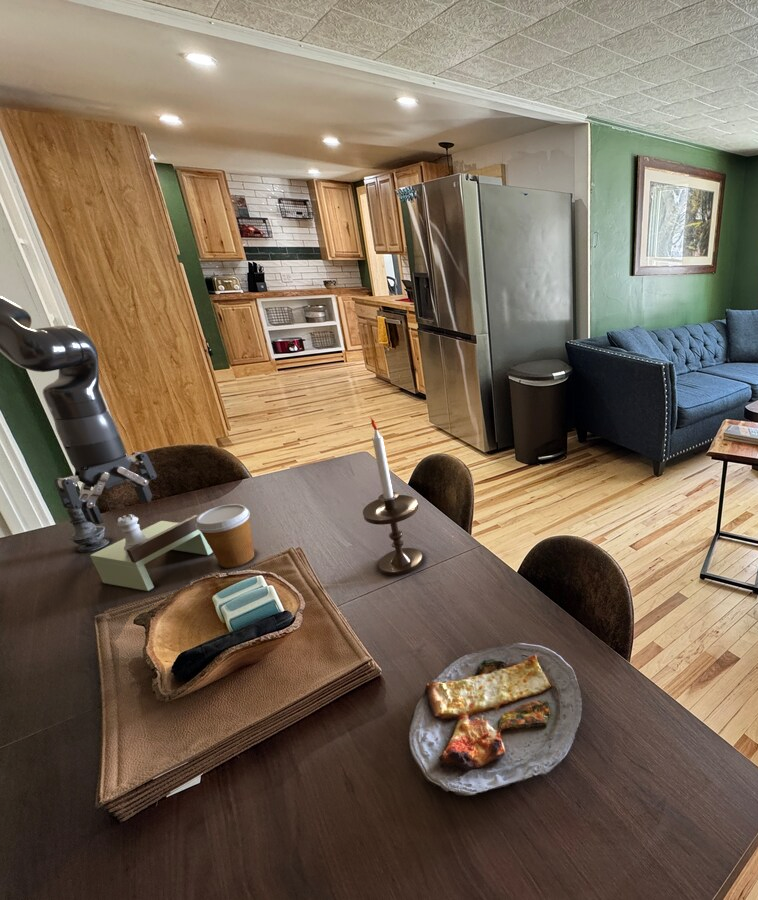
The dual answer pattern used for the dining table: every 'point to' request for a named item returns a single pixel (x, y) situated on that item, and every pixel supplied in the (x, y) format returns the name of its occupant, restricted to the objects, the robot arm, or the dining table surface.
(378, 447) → the candlestick
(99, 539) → the grey upright piece
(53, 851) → the dining table surface
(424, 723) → the food plate
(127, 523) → the rook chess piece
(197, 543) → the shelf
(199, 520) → the disposable coffee cup
